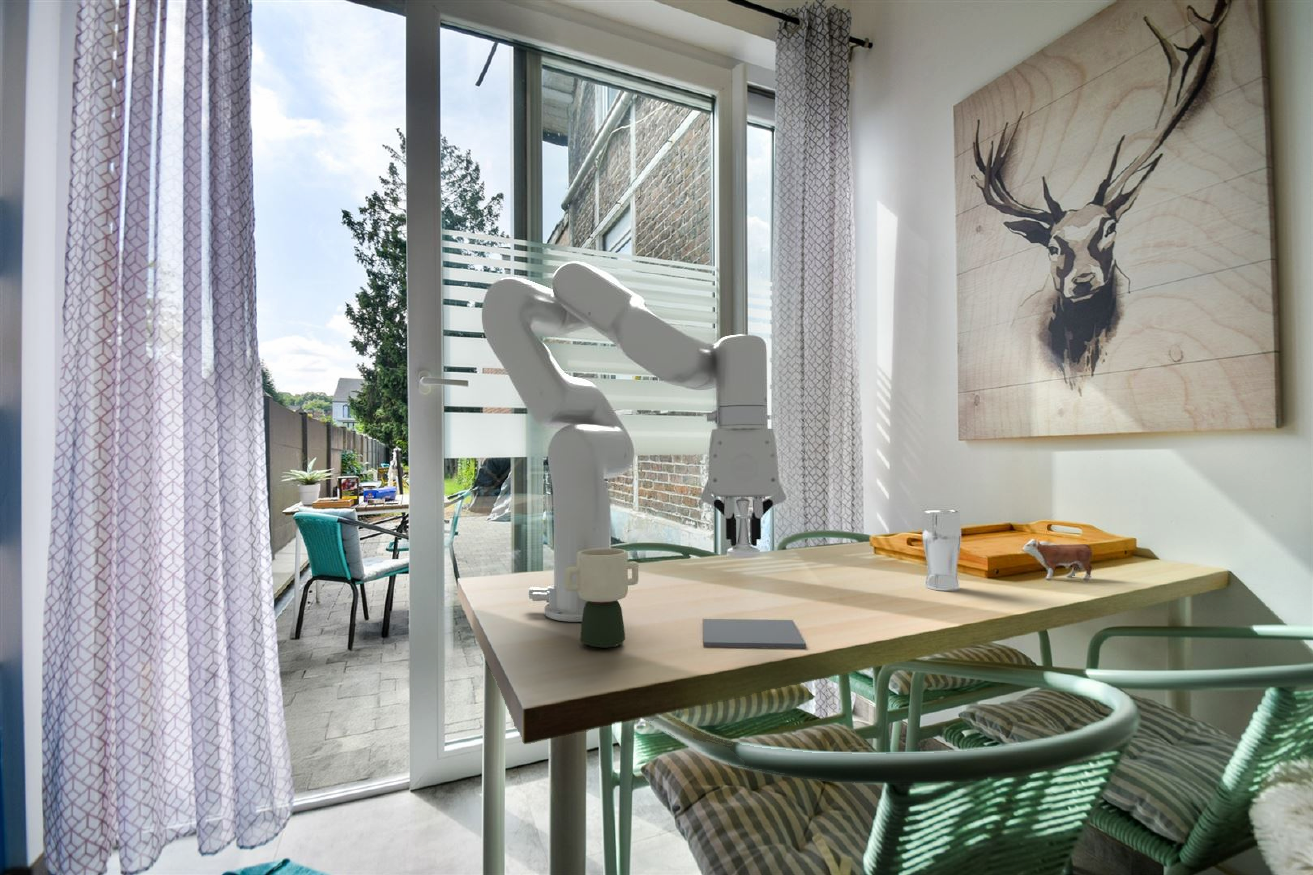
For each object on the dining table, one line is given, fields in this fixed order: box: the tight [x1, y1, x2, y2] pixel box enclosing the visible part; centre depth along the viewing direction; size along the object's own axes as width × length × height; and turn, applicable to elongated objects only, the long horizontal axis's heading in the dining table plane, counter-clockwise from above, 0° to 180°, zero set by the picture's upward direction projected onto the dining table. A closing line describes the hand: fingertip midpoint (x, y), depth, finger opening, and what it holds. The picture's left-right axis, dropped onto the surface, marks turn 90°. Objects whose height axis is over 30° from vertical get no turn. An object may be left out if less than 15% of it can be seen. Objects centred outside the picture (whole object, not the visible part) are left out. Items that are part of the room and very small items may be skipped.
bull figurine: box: [1021, 538, 1093, 581], centre depth 130 cm, size 4×13×8 cm, turn 82°
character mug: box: [565, 547, 639, 648], centre depth 87 cm, size 11×7×13 cm, turn 115°
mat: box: [702, 618, 807, 649], centre depth 91 cm, size 14×12×1 cm
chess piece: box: [726, 497, 761, 559], centre depth 92 cm, size 5×5×10 cm
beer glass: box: [921, 509, 962, 592], centre depth 122 cm, size 7×7×15 cm
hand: (743, 543), depth 92 cm, fingers closed on chess piece
